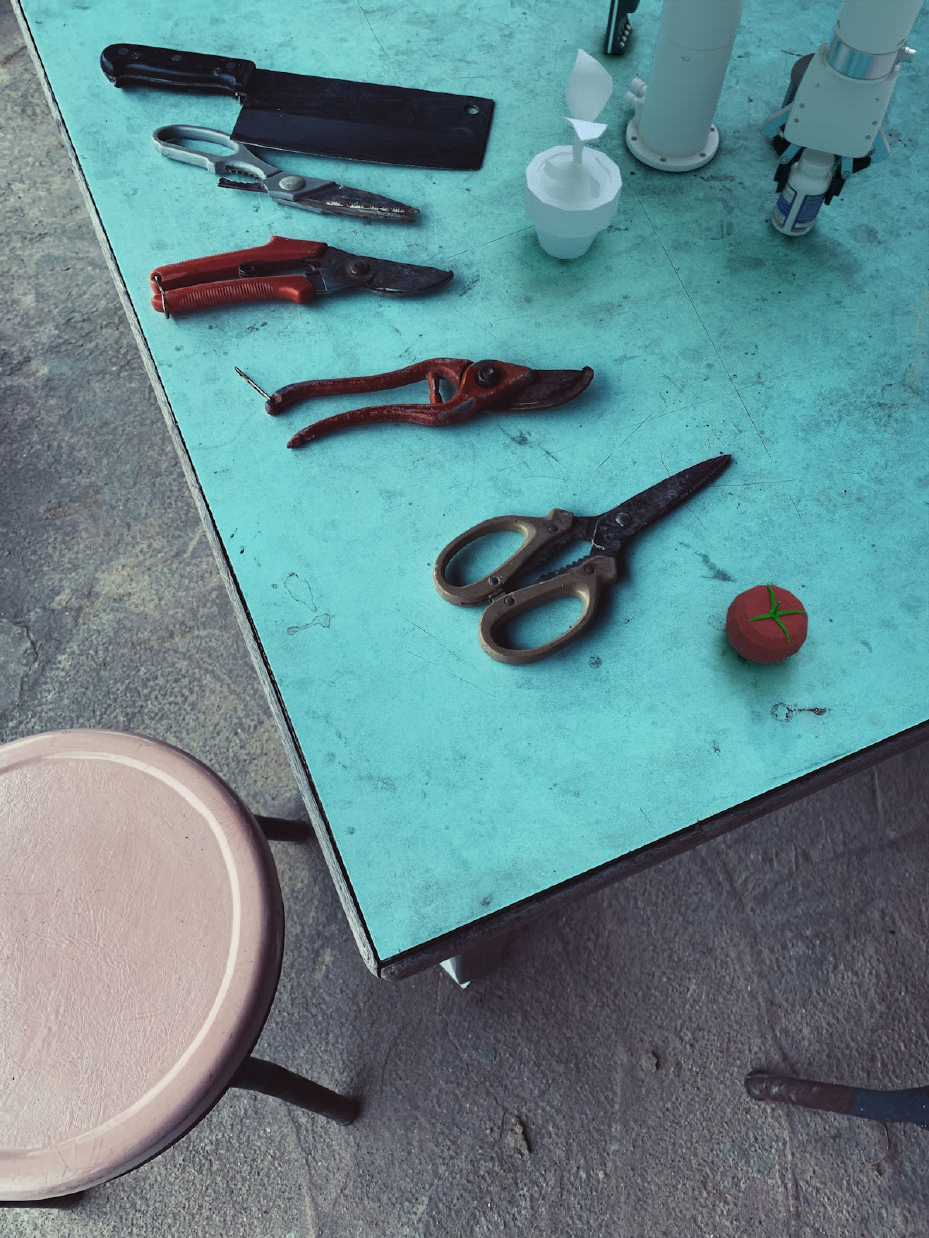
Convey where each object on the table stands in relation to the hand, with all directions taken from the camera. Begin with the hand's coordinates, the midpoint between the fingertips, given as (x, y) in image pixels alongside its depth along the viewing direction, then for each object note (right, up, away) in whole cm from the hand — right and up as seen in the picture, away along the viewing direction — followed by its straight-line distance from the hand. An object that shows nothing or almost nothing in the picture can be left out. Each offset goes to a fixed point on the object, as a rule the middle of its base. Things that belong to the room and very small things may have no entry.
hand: (804, 190), depth 116 cm
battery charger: (-20, +31, +21) cm, 42 cm away
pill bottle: (0, -2, +5) cm, 5 cm away
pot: (+5, +12, +12) cm, 18 cm away
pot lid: (+5, +16, +4) cm, 18 cm away
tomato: (-13, -56, -21) cm, 61 cm away
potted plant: (-30, -6, +3) cm, 31 cm away
